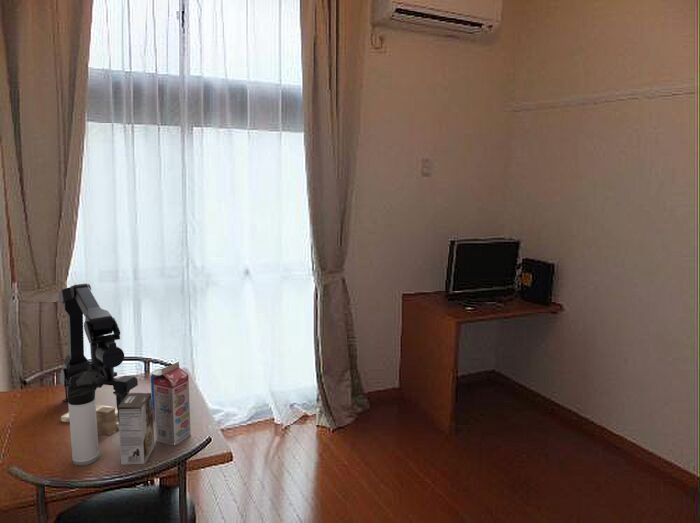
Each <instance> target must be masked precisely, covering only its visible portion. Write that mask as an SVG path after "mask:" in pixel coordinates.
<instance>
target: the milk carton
mask: <svg viewBox="0 0 700 523" xmlns="http://www.w3.org/2000/svg"><path fill="white" fill-rule="evenodd" d="M160 369H161V370H162V375H160V376H157V377H155V378H154V379H153V381H154V401H155V408H154V417H155V418H154V420H155V436H156V438H155V439H156V440H155V441H156V442H159V443H161V444H162V443H163V444H167V445H170V446H174V443H175V446H177V445H178V444H180V443H182V442H183V441H184V440H186V439H189V437H191V432H192V431H191V430H192V429H191V406H190V404H191V403H190V389H189V388H190V384H189V383H190V382H189V378H190V376H189V374H188V373H187V372H186V371H185V370H183V368H181V367H180V361H177V362H175V363H174V362H173V363H172V364H170V365H167V366H165V367H163V368H160ZM176 444H177V445H176ZM175 446H174V447H175Z"/></svg>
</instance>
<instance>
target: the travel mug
mask: <svg viewBox="0 0 700 523" xmlns="http://www.w3.org/2000/svg"><path fill="white" fill-rule="evenodd" d="M94 395H95V396H94ZM67 404H68V412H69V420H70V423H69V431H70V442H71V443H70V444H71V446H70V447H71V456H72V463H73V464H74V465H75V466H78V465H79V466H82V465H83V466H88V465H90V464H94V463H96V461H98V460H99V458H100V451H99V439H98V438H99V436H98V435H99V434H97V419H96V405H97V404H96V392H95V393H94V384H89V383H88V384H86V385H81V386H77V387H75V388H73V389H71V390H70V391H69V392H68V403H67Z"/></svg>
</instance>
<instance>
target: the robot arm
mask: <svg viewBox="0 0 700 523" xmlns="http://www.w3.org/2000/svg"><path fill="white" fill-rule="evenodd" d="M58 301H59V304H60V306H61V307H62V308H63V310H64V311H65V312H66V321H67V322H66V326H67V327H66V328H67V349H68V353H67V356H66V357H65V358H64V360H63V362H62V368H61V371H60V374H59V381H60V384H61V385H62V387H63V388H64V391H65V394H64V395H65V398H64V399H62V401H61V402H62V403H67V404H68V392H69V391H70V390H71V389H73V388H75V387H77V386H81V385H86V384H88V383H89V384H94V393H95V395H94V396H95V397H96V390H97V388H98V389H100V388H102V387H103V386H112V389H113V390H114V391H113V392H112V394H113V395H115V397H116V398H115V401H116V407H118V406H119V405H120V403H121V402H122V401H123V399H124V398H125V397H126V396H127V394H128V393H130V391H131V390H133V389H134V388H136V387H138V386H139V383H138V382H139V380H138V378H137V377H136V376H135V375H134V376H133V375H123V376H121V377H119V378H115V377H117V376H118V372H117V371H115V368H117V367H119V366H120V365H121V364H122V363H123V361H124V359H125V353H124V351H123V349H122V348H120V347H119V346H118V345H117V342H116V341H118V340H121V330H120V327H119V325H118V322H117V320H116V319H115V317H113V315H112V314H111V313H110V312H109V311H108V310H107V309H103V308H102V307H101V305H100V303H99V302H98V301H97V299H96V297H95V296H94V294H93V292H92V286H91V284H89V283H79V284H73V285H71V286H70V287H64V288H62V290H60V291H59V292H58ZM84 333H85V336H86V338H87V340H88V343H89V344H90V345H89V346H90V360H91V362H90V361H89V360H88V358H87V357H86V356H85V348H84V347H85V344H84V341H85V340H84ZM117 410H118V408H117Z"/></svg>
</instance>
